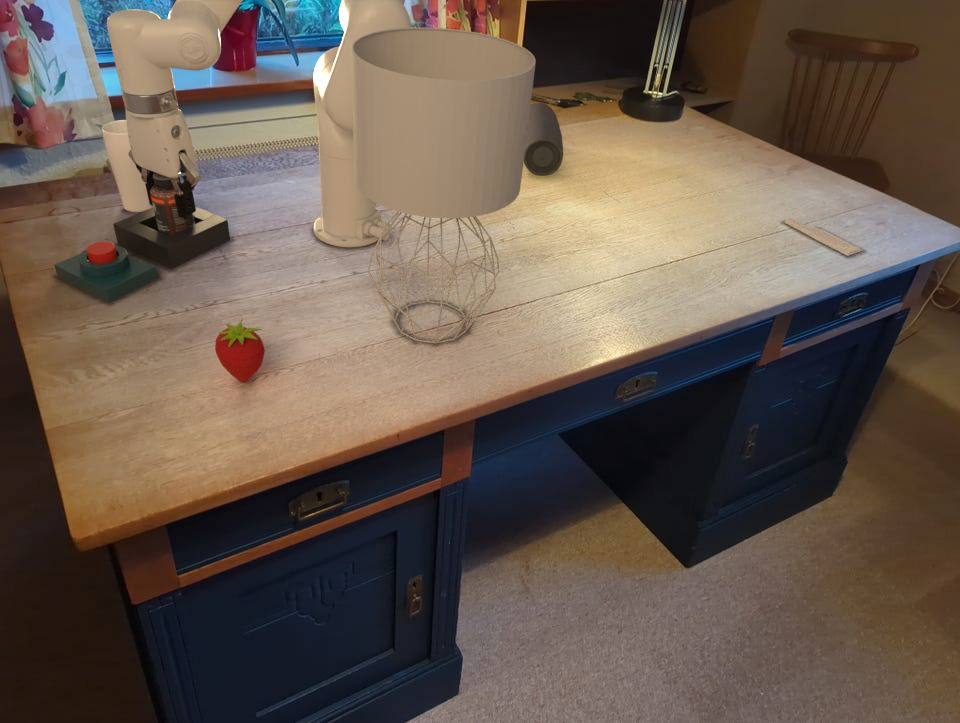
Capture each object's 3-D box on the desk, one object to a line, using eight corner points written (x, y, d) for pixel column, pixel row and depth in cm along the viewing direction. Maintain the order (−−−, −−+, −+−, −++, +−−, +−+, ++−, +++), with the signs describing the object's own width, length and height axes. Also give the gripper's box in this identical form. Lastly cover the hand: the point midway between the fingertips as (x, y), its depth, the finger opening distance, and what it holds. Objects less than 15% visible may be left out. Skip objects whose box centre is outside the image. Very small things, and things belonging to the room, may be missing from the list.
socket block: (230, 240, 132) (227, 219, 129) (171, 269, 123) (167, 247, 120) (178, 218, 137) (174, 197, 134) (117, 245, 128) (112, 223, 125)
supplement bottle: (204, 232, 131) (193, 170, 124) (183, 248, 126) (170, 184, 119) (175, 225, 132) (162, 163, 125) (152, 240, 128) (138, 177, 121)
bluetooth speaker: (561, 183, 162) (568, 138, 156) (518, 180, 162) (523, 134, 156) (555, 144, 180) (561, 101, 174) (516, 140, 180) (520, 98, 174)
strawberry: (253, 359, 106) (245, 298, 100) (277, 388, 101) (270, 327, 95) (211, 373, 103) (201, 311, 97) (234, 403, 98) (225, 341, 92)
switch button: (123, 256, 118) (120, 246, 117) (100, 267, 115) (98, 257, 114) (105, 248, 119) (103, 238, 118) (83, 258, 117) (80, 248, 116)
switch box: (158, 278, 120) (153, 256, 118) (109, 303, 114) (103, 280, 112) (107, 254, 125) (102, 233, 122) (57, 277, 118) (50, 254, 116)
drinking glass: (146, 218, 136) (129, 136, 127) (111, 211, 137) (92, 130, 127) (166, 202, 141) (151, 123, 132) (132, 196, 142) (115, 117, 133)
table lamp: (383, 379, 105) (384, 85, 81) (340, 295, 121) (330, 29, 97) (527, 350, 113) (568, 76, 89) (469, 275, 129) (490, 25, 105)
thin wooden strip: (800, 218, 158) (802, 213, 157) (862, 251, 148) (864, 246, 147) (784, 222, 155) (786, 217, 155) (846, 256, 146) (849, 251, 145)
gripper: (210, 106, 114) (227, 215, 125) (132, 81, 121) (155, 187, 132) (170, 120, 109) (192, 232, 120) (91, 93, 116) (118, 202, 127)
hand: (172, 207), depth 126 cm, fingers closed on supplement bottle, 6 cm apart
